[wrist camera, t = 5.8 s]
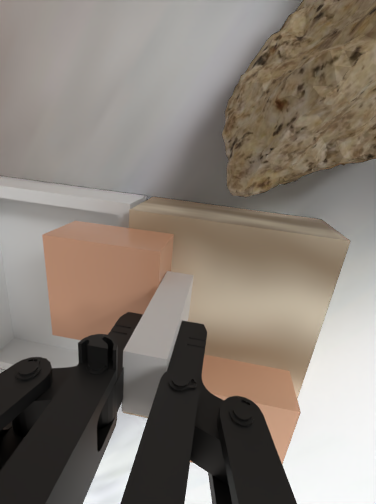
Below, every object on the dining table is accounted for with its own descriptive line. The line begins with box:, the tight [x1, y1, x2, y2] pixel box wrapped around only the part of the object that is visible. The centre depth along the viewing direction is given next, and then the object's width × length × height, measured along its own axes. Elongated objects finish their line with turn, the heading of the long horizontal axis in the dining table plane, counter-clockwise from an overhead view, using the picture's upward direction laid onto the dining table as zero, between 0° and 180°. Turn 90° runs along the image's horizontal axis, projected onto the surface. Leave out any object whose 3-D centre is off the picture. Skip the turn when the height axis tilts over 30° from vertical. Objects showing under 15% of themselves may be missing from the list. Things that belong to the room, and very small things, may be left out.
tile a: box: [42, 221, 174, 340], centre depth 15 cm, size 6×6×3 cm
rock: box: [222, 0, 376, 198], centre depth 13 cm, size 11×12×10 cm
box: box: [0, 176, 147, 370], centre depth 22 cm, size 16×13×4 cm
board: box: [123, 197, 350, 418], centre depth 20 cm, size 16×12×5 cm
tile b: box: [190, 354, 300, 463], centre depth 17 cm, size 6×6×3 cm
